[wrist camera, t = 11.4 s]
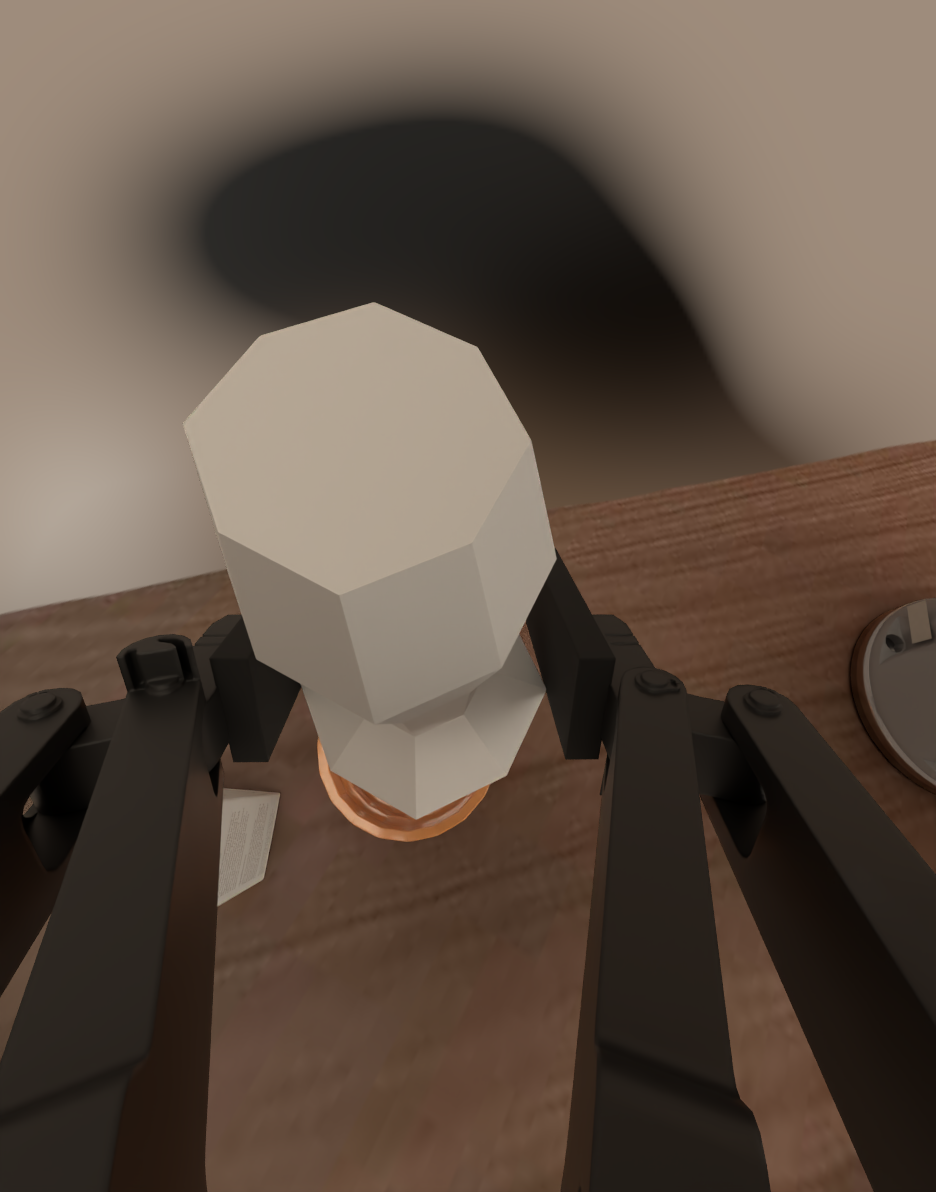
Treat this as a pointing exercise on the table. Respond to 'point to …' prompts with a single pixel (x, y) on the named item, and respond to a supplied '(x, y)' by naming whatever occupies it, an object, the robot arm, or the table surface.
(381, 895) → the table surface
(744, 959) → the table surface
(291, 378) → the low poly bottle
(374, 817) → the bowl
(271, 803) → the small box
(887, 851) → the robot arm
